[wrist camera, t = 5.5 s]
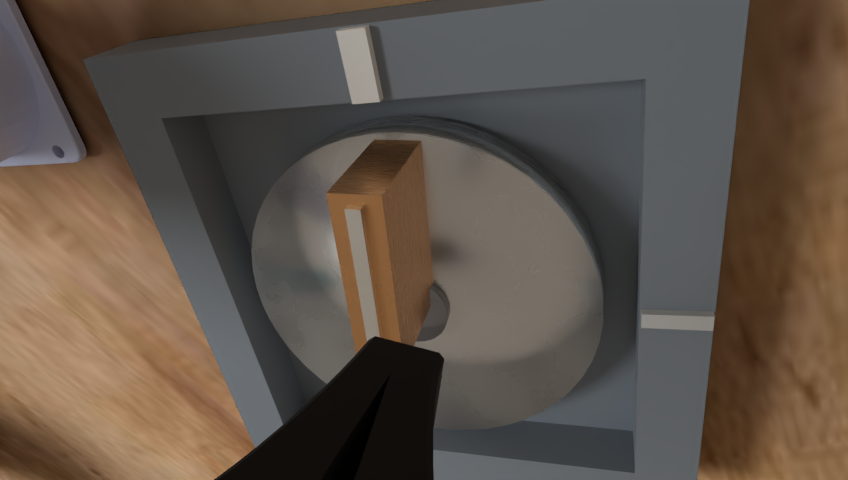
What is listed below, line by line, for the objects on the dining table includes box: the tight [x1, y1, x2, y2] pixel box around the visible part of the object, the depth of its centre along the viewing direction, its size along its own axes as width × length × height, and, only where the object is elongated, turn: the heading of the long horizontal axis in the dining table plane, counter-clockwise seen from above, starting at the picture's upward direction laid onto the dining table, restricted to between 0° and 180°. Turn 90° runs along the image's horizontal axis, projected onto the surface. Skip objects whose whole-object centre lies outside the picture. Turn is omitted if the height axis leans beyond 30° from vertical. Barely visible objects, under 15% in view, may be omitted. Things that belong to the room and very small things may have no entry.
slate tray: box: [82, 0, 750, 480], centre depth 20 cm, size 18×18×3 cm
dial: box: [251, 116, 604, 430], centre depth 18 cm, size 12×12×5 cm
